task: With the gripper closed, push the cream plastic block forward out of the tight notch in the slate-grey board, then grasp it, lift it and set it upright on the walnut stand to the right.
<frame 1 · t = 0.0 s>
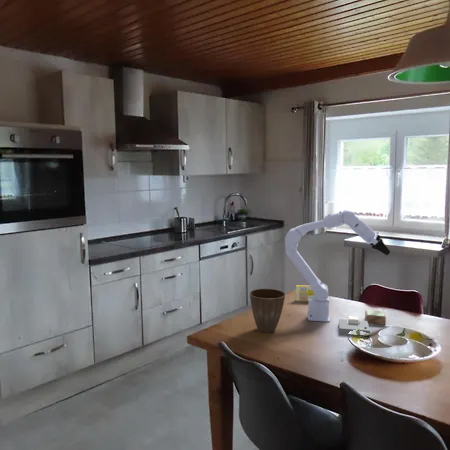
hand: (387, 252, 196), 32 cm above the table, tool tilted 50°, fingers open, 7 cm apart
cream block: (353, 327, 194), on the table
walnut stand: (375, 321, 202), on the table
slate notch board: (353, 330, 191), on the table
candy box: (311, 301, 234), on the table
plant pot: (266, 330, 191), on the table
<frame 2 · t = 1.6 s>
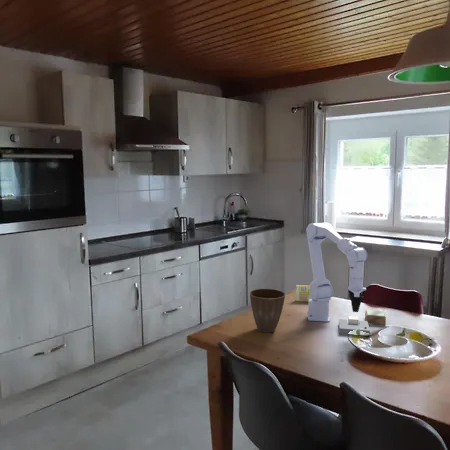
hand: (355, 309, 186), 10 cm above the table, tool pointing down, fingers open, 6 cm apart
nothing on the table moved.
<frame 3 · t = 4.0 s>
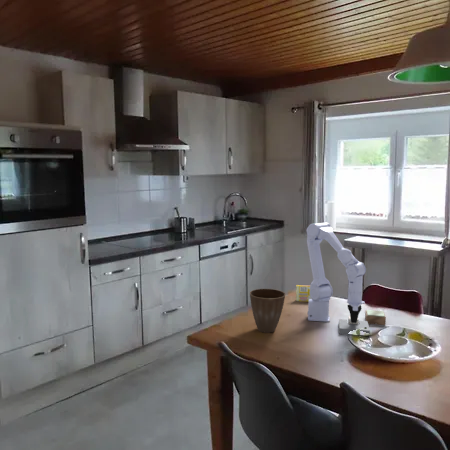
hand: (353, 322, 191), 3 cm above the table, tool pointing down, fingers closed
cream block: (353, 327, 194), on the table, touching gripper
everything else where it was.
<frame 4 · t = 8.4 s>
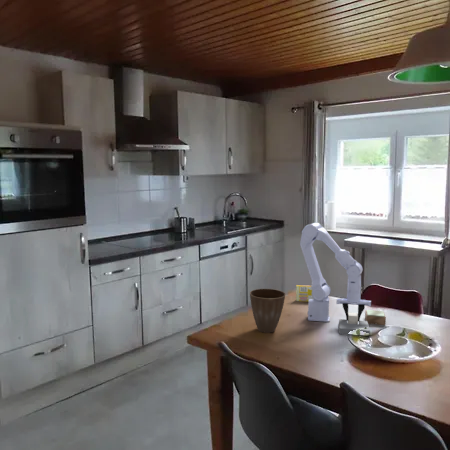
hand: (352, 320, 199), 2 cm above the table, tool pointing down, fingers closed on cream block, 4 cm apart
cream block: (352, 324, 199), on the table, touching gripper
everything else where it was.
when the fingers open (7 cm above the table, at t = 11.5 s): cream block stays where it is, resting on walnut stand.
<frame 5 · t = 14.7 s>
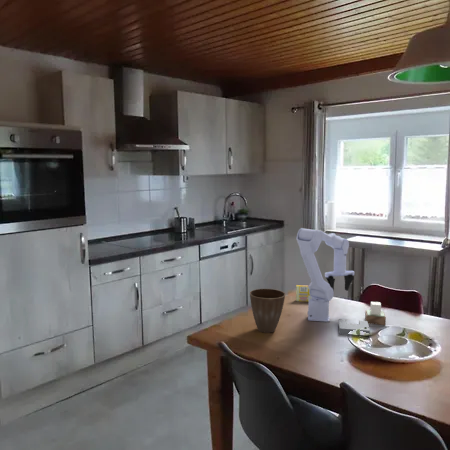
hand: (339, 290, 215), 10 cm above the table, tool pointing down, fingers open, 7 cm apart
cream block: (375, 313, 201), point 4 cm above the table, touching walnut stand
everything else where it was.
at the end: cream block 0.3 cm off-centre on the walnut stand, point 4.0 cm above the walnut stand's base; cream block tilted 0°; the gripper is holding nothing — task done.
